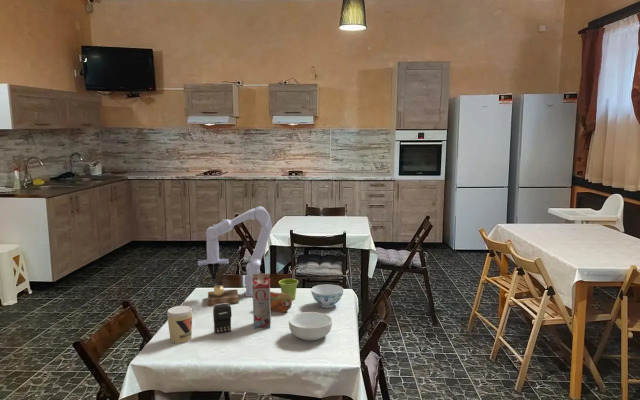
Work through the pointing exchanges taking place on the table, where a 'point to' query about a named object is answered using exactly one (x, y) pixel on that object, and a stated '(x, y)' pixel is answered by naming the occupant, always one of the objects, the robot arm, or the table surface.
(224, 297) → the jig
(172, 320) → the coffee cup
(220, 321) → the battery charger
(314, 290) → the chinaware
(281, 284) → the plant pot
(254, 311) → the juice carton
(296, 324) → the cereal bowl
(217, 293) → the bushing
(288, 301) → the tin
